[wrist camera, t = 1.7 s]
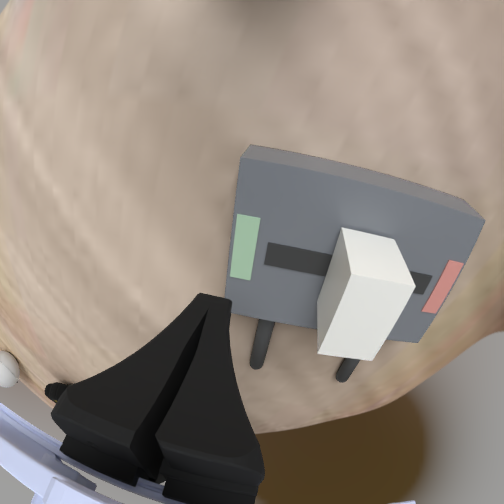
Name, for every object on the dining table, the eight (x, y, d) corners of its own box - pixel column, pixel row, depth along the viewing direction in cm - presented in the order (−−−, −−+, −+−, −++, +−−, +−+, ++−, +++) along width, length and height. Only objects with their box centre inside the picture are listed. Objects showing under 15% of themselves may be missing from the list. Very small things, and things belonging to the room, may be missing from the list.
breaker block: (464, 199, 16) (486, 221, 13) (409, 315, 21) (418, 344, 18) (250, 144, 16) (240, 157, 14) (232, 283, 22) (222, 312, 19)
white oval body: (9, 360, 44) (-8, 384, 38) (-6, 337, 40) (-25, 362, 33) (40, 379, 43) (23, 407, 37) (25, 357, 39) (6, 386, 33)
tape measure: (46, 377, 38) (40, 396, 35) (67, 378, 36) (61, 400, 33) (74, 394, 42) (70, 412, 40) (97, 396, 40) (93, 416, 38)
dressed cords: (386, 305, 21) (389, 316, 20) (345, 375, 26) (346, 385, 25) (266, 283, 21) (264, 294, 20) (250, 360, 26) (247, 370, 25)
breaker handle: (394, 239, 15) (415, 286, 11) (363, 309, 17) (372, 360, 14) (341, 227, 15) (351, 273, 11) (317, 301, 17) (317, 353, 14)
